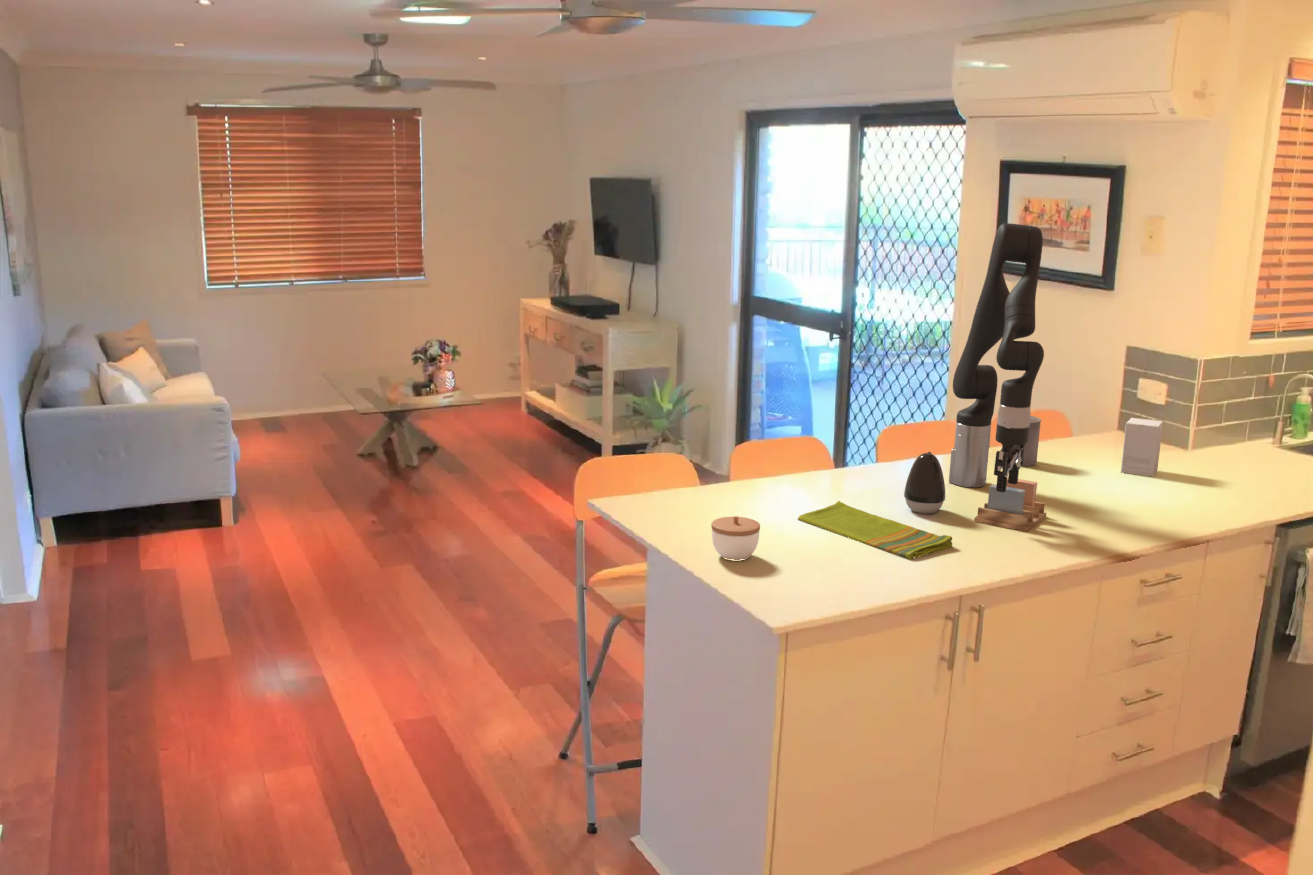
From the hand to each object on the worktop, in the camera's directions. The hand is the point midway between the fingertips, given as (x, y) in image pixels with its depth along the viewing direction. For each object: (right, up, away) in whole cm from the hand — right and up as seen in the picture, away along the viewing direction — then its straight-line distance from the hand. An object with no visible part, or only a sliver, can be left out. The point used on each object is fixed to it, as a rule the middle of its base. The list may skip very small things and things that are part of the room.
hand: (1006, 487), depth 267 cm
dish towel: (-34, -11, -6) cm, 37 cm away
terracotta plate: (+5, -2, +8) cm, 10 cm away
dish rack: (+3, -8, +6) cm, 10 cm away
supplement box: (+55, +2, +52) cm, 76 cm away
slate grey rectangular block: (0, -4, +1) cm, 4 cm away
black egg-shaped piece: (-18, -7, +11) cm, 22 cm away
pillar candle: (+23, +5, +60) cm, 64 cm away
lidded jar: (-68, -15, -24) cm, 74 cm away
